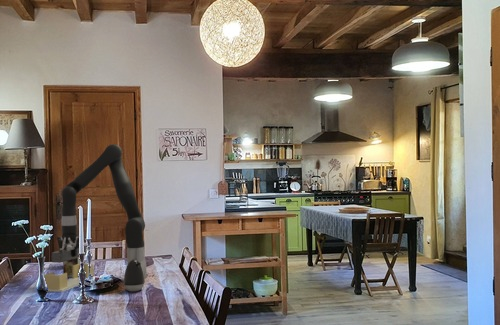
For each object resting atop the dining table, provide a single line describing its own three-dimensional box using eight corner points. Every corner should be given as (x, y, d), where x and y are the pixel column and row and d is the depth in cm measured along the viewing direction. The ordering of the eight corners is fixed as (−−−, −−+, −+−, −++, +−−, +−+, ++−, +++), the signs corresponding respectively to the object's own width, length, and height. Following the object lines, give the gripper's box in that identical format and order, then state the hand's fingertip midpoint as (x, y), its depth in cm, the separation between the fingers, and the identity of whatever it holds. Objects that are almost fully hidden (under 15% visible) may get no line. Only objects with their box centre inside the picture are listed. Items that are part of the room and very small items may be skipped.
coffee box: (83, 275, 278) (82, 246, 278) (78, 277, 272) (77, 248, 272) (68, 275, 279) (67, 247, 279) (62, 277, 272) (62, 248, 273)
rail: (86, 254, 265) (86, 245, 265) (60, 262, 244) (60, 252, 244) (78, 254, 266) (78, 245, 266) (51, 262, 245) (51, 252, 245)
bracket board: (96, 278, 268) (96, 263, 268) (61, 291, 239) (61, 275, 239) (77, 277, 271) (77, 263, 271) (41, 290, 242) (40, 274, 242)
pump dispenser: (131, 294, 231) (130, 262, 231) (119, 290, 238) (118, 260, 238) (149, 289, 239) (148, 259, 239) (137, 286, 246) (136, 256, 246)
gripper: (85, 223, 257) (85, 255, 257) (62, 223, 261) (62, 254, 261) (76, 225, 250) (77, 258, 250) (52, 224, 254) (53, 257, 253)
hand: (69, 256), depth 255 cm, fingers closed on rail, 5 cm apart
